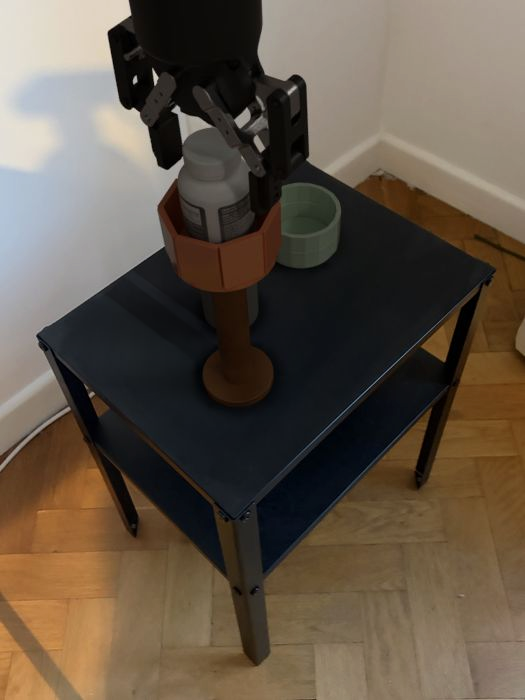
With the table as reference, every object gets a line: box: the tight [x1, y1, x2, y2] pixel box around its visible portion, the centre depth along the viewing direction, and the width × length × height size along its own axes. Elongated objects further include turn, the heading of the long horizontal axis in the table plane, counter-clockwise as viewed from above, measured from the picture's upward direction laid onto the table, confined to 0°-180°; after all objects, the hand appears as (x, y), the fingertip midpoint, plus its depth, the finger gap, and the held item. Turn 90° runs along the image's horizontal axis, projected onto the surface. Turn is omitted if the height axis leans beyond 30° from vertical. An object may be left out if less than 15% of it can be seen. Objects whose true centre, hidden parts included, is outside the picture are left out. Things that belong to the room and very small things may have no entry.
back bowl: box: [275, 182, 342, 269], centre depth 81 cm, size 9×9×5 cm
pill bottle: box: [177, 127, 256, 245], centre depth 53 cm, size 5×5×10 cm
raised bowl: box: [156, 177, 282, 292], centre depth 56 cm, size 9×9×5 cm
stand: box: [202, 288, 274, 408], centre depth 65 cm, size 7×7×18 cm
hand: (216, 184), depth 52 cm, fingers open, 8 cm apart
